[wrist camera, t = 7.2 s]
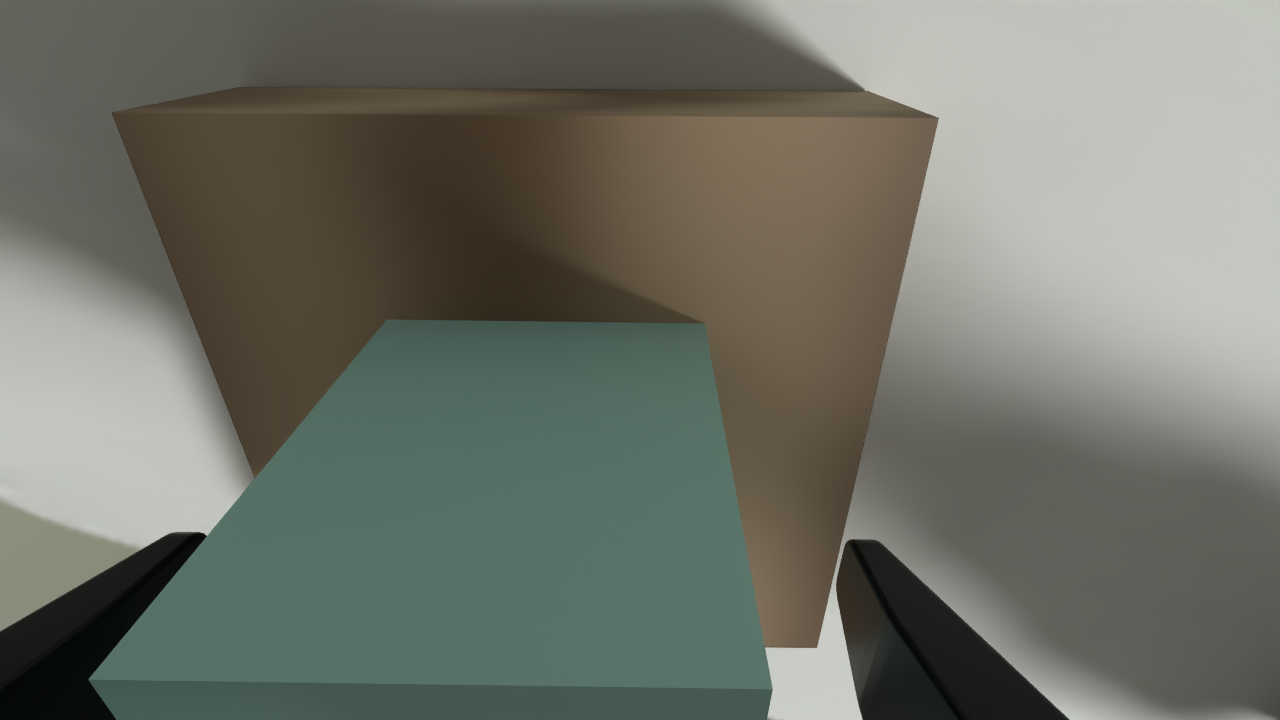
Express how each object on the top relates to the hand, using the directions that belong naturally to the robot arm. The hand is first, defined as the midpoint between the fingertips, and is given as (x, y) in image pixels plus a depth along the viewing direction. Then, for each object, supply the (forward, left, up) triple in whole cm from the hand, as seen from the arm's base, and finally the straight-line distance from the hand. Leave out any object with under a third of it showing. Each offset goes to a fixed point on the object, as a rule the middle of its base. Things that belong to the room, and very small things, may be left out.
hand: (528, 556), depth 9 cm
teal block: (0, 0, -2) cm, 2 cm away
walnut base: (0, 0, -6) cm, 6 cm away
